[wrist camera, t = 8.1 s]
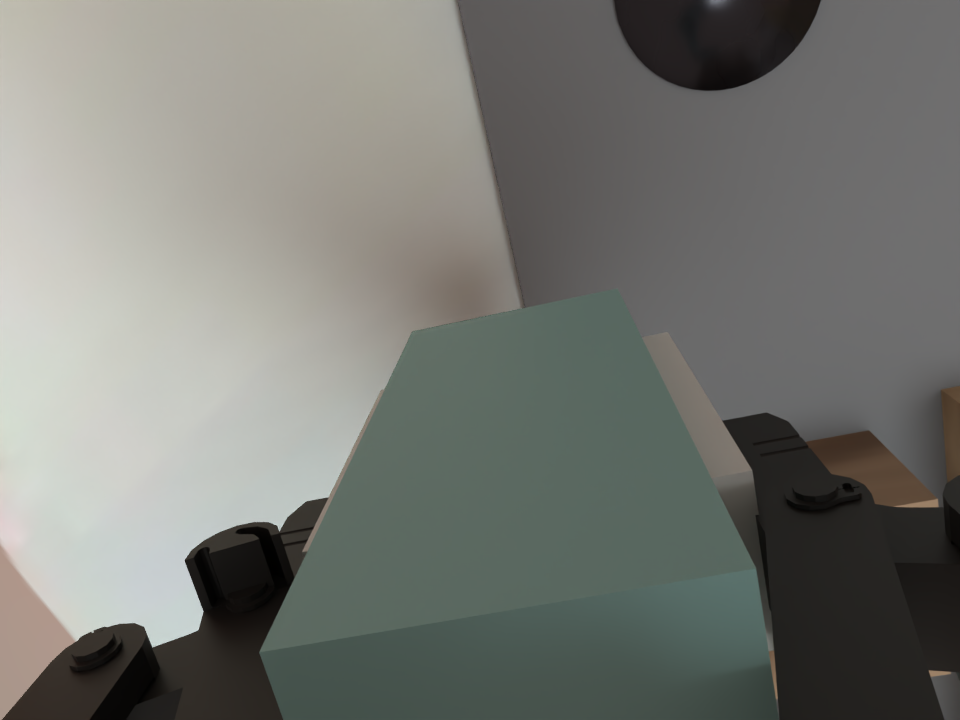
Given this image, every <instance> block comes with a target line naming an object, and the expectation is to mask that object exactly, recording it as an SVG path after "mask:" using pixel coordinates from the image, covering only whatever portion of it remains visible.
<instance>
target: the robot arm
mask: <svg viewBox="0 0 960 720" xmlns="http://www.w3.org/2000/svg"><path fill="white" fill-rule="evenodd" d="M642 339H643V341H644V343H645V345H646V347H647V349H648V351H649V353H650V355H651V357H652V359H653V361H654V363H655V365H656V367H657V369H658V371H659V373H660V375H661V377H662V379H663V381H664V383H665V385H666V387H667V389H668V391H669V393H670V395H671V397H672V399H673V401H674V403H675V405H676V407H677V410H678V412H679V414H680V416H681V418H682V420H683V422H684V424H685V426H686V428H687V430H688V432H689V434H690V436H691V438H692V440H693V442H694V444H695V446H696V448H697V450H698V452H699V454H700V456H701V458H702V460H703V462H704V464H705V466H706V468H707V470H708V472H709V474H710V476H711V478H712V480H713V482H714V484H715V486H716V488H717V490H718V492H719V494H720V496H721V498H722V500H723V502H724V504H725V507H726V509H727V511H728V513H729V515H730V517H731V519H732V521H733V523H734V525H735V527H736V529H737V531H738V533H739V535H740V537H741V539H742V541H743V543H744V545H745V547H746V549H747V551H748V553H749V555H750V557H751V559H752V561H753V563H754V565H755V567H756V571H757V577H758V584H759V590H760V597H761V604H762V610H763V617H764V624H765V630H766V637H767V643H768V650H769V651H773V650H774V656H775V669H776V682H777V696H778V709H779V720H944V717H943V714H942V710H941V707H940V704H939V701H938V698H937V695H936V692H935V689H934V686H933V682H932V679H931V676H930V673H929V670H930V671H945V672H956V674H957V676H958V678H959V680H960V475H958V476H957V477H955V478H954V479H952V480H951V481H949V482H948V483H946V485H945V488H944V491H943V506H944V507H892V506H885V505H879V504H875V502H874V499H873V496H872V493H871V492H870V491H869V490H868V488H867V487H866V486H865V485H864V484H862V483H860V482H858V481H856V480H854V479H852V478H849V477H844V476H839V475H834V474H831V473H830V471H829V470H828V469H827V468H826V467H825V465H824V464H823V463H822V462H821V460H820V459H819V458H818V457H817V456H816V454H815V453H814V452H813V451H812V449H811V448H809V447H808V445H807V443H806V442H805V441H804V440H803V438H802V437H800V436H799V434H798V432H797V431H796V430H795V429H794V427H793V426H792V425H791V424H790V423H789V421H786V420H784V419H782V418H779V417H777V416H774V415H772V414H769V413H767V412H766V413H761V414H755V415H750V416H745V417H740V418H734V419H729V420H724V421H722V420H721V418H720V417H719V415H718V414H717V412H716V410H715V409H714V407H713V405H712V404H711V402H710V400H709V399H708V397H707V396H706V394H705V392H704V391H703V389H702V387H701V386H700V384H699V382H698V381H697V379H696V378H695V376H694V374H693V373H692V371H691V369H690V368H689V366H688V365H687V363H686V361H685V360H684V358H683V356H682V355H681V353H680V351H679V350H678V348H677V347H676V345H675V343H674V342H673V340H672V338H671V337H670V335H669V333H668V332H666V333H661V334H656V335H651V336H646V337H642ZM384 390H385V389H384ZM384 390H381V391H380V393H379V396H378V398H377V400H376V402H375V404H374V406H373V408H372V410H371V412H370V414H369V416H368V418H367V420H366V422H365V424H364V426H363V428H362V430H361V432H360V434H359V436H358V439H357V441H356V443H355V445H354V447H353V449H352V451H351V453H350V455H349V457H348V459H347V461H346V463H345V465H344V467H343V469H342V471H341V473H340V475H339V477H338V479H337V481H336V484H335V486H334V488H333V490H332V492H331V494H330V496H329V497H328V498H323V499H317V500H312V501H307V502H305V503H304V504H303V505H302V506H300V507H299V508H298V509H297V510H296V511H295V512H293V513H292V514H291V515H290V516H289V517H288V518H287V519H286V521H285V523H284V525H283V526H282V528H281V530H280V532H279V530H278V527H277V526H276V525H273V524H271V523H269V522H253V523H248V524H243V525H238V526H235V527H233V528H230V529H227V530H224V531H222V532H219V533H217V534H215V535H214V536H212V537H210V538H208V539H206V540H204V541H203V542H202V543H200V544H199V545H198V546H197V547H195V548H194V549H193V550H192V551H191V552H190V553H189V555H188V556H187V558H186V559H185V563H186V565H187V568H188V571H189V573H190V576H191V579H192V581H193V584H194V587H195V590H196V592H197V595H198V598H199V600H200V603H201V606H202V608H203V611H204V612H203V616H202V620H201V624H200V627H199V630H198V631H196V632H194V633H191V634H189V635H186V636H184V637H181V638H178V639H175V640H172V641H170V642H167V643H164V644H161V645H158V646H156V647H153V648H152V646H151V643H150V641H149V638H148V636H147V633H146V631H145V628H144V627H143V626H140V625H138V624H135V623H130V624H118V625H114V626H110V627H102V628H99V629H97V630H94V633H92V632H90V633H88V634H86V635H84V636H82V637H80V638H79V640H78V641H76V642H75V643H73V644H72V645H70V646H69V647H67V648H66V649H65V650H63V651H62V652H61V653H60V654H59V655H58V656H57V657H56V658H55V659H54V660H53V661H52V662H51V663H50V664H49V665H48V667H47V668H46V669H45V670H44V671H43V672H42V673H41V675H40V676H39V677H38V678H37V679H36V681H35V682H34V683H33V684H32V685H31V686H30V688H29V689H28V690H27V691H26V692H25V693H24V695H23V696H22V697H21V698H20V699H19V701H18V702H17V703H16V704H15V705H14V706H13V707H12V709H11V710H10V711H9V712H8V713H7V714H6V716H5V717H4V718H3V719H2V720H283V718H282V715H281V712H280V709H279V706H278V704H277V701H276V698H275V695H274V692H273V690H272V687H271V684H270V681H269V678H268V676H267V673H266V670H265V667H264V664H263V662H262V659H261V656H260V653H259V652H260V650H261V648H262V645H263V643H264V641H265V639H266V637H267V635H268V633H269V631H270V629H271V627H272V625H273V622H274V620H275V618H276V616H277V614H278V612H279V610H280V608H281V606H282V604H283V601H284V599H285V597H286V595H287V593H288V591H289V589H290V587H291V585H292V583H293V581H294V578H295V576H296V574H297V572H298V570H299V568H300V566H301V564H302V562H303V560H304V557H305V555H306V553H307V551H308V549H309V547H310V545H311V543H312V541H313V539H314V537H315V534H316V532H317V530H318V528H319V526H320V524H321V522H322V520H323V518H324V516H325V514H326V511H327V509H328V507H329V505H330V503H331V501H332V499H333V497H334V495H335V493H336V490H337V488H338V486H339V484H340V482H341V480H342V478H343V476H344V474H345V472H346V470H347V467H348V465H349V463H350V461H351V459H352V457H353V455H354V453H355V451H356V449H357V446H358V444H359V442H360V440H361V438H362V436H363V434H364V432H365V430H366V428H367V426H368V423H369V421H370V419H371V417H372V415H373V413H374V411H375V409H376V407H377V405H378V403H379V400H380V398H381V396H382V394H383V392H384Z"/></svg>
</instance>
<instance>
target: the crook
mask: <svg viewBox="0 0 960 720" xmlns="http://www.w3.org/2000/svg"><path fill="white" fill-rule="evenodd" d="M259 653H260V656H261V659H262V662H263V664H264V667H265V670H266V673H267V676H268V678H269V681H270V684H271V687H272V690H273V692H274V695H275V698H276V701H277V704H278V706H279V709H280V712H281V715H282V718H283V720H779V716H778V710H777V703H776V696H775V690H774V683H773V677H772V670H771V663H770V657H769V650H768V643H767V637H766V630H765V624H764V617H763V610H762V604H761V597H760V590H759V584H758V577H757V571H756V567H755V565H754V563H753V561H752V559H751V557H750V555H749V553H748V551H747V549H746V547H745V545H744V543H743V541H742V539H741V537H740V535H739V533H738V531H737V529H736V527H735V525H734V523H733V521H732V519H731V517H730V515H729V513H728V511H727V509H726V507H725V504H724V502H723V500H722V498H721V496H720V494H719V492H718V490H717V488H716V486H715V484H714V482H713V480H712V478H711V476H710V474H709V472H708V470H707V468H706V466H705V464H704V462H703V460H702V458H701V456H700V454H699V452H698V450H697V448H696V446H695V444H694V442H693V440H692V438H691V436H690V434H689V432H688V430H687V428H686V426H685V424H684V422H683V420H682V418H681V416H680V414H679V412H678V410H677V407H676V405H675V403H674V401H673V399H672V397H671V395H670V393H669V391H668V389H667V387H666V385H665V383H664V381H663V379H662V377H661V375H660V373H659V371H658V369H657V367H656V365H655V363H654V361H653V359H652V357H651V355H650V353H649V351H648V349H647V347H646V345H645V343H644V341H643V339H642V337H641V335H640V333H639V331H638V329H637V327H636V325H635V323H634V321H633V319H632V317H631V315H630V312H629V310H628V308H627V306H626V304H625V302H624V300H623V298H622V296H621V294H620V292H619V290H618V288H617V289H612V290H608V291H603V292H598V293H593V294H589V295H584V296H579V297H574V298H570V299H565V300H560V301H555V302H551V303H546V304H541V305H536V306H532V307H527V308H522V309H517V310H513V311H508V312H503V313H498V314H494V315H489V316H484V317H479V318H475V319H470V320H465V321H460V322H456V323H451V324H446V325H441V326H437V327H432V328H427V329H422V330H418V331H413V332H412V333H411V335H410V338H409V340H408V342H407V344H406V346H405V348H404V350H403V352H402V354H401V356H400V359H399V361H398V363H397V365H396V367H395V369H394V371H393V373H392V375H391V377H390V379H389V382H388V384H387V386H386V388H385V390H384V392H383V394H382V396H381V398H380V400H379V403H378V405H377V407H376V409H375V411H374V413H373V415H372V417H371V419H370V421H369V423H368V426H367V428H366V430H365V432H364V434H363V436H362V438H361V440H360V442H359V444H358V446H357V449H356V451H355V453H354V455H353V457H352V459H351V461H350V463H349V465H348V467H347V470H346V472H345V474H344V476H343V478H342V480H341V482H340V484H339V486H338V488H337V490H336V493H335V495H334V497H333V499H332V501H331V503H330V505H329V507H328V509H327V511H326V514H325V516H324V518H323V520H322V522H321V524H320V526H319V528H318V530H317V532H316V534H315V537H314V539H313V541H312V543H311V545H310V547H309V549H308V551H307V553H306V555H305V557H304V560H303V562H302V564H301V566H300V568H299V570H298V572H297V574H296V576H295V578H294V581H293V583H292V585H291V587H290V589H289V591H288V593H287V595H286V597H285V599H284V601H283V604H282V606H281V608H280V610H279V612H278V614H277V616H276V618H275V620H274V622H273V625H272V627H271V629H270V631H269V633H268V635H267V637H266V639H265V641H264V643H263V645H262V648H261V650H260V652H259Z"/></svg>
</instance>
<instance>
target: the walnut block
mask: <svg viewBox="0 0 960 720" xmlns="http://www.w3.org/2000/svg"><path fill="white" fill-rule="evenodd" d="M806 443H807V445H808V447H809V448H811V449H812V451H813V452H814V453H815V454H816V456H817V457H818V458H819V459H820V460H821V462H822V463H823V464H824V465H825V467H826V468H827V469H828V470H829V471H830V473H831V474H834V475H839V476H844V477H849V478H852V479H854V480H856V481H858V482H860V483H862V484H864V485H865V486H866V487H867V488H868V490H869V491H870V492H871V493H872V496H873V499H874V502H875V504H879V505H885V506H892V507H938V499H937V498H936V497H935V496H934V495H933V494H932V493H931V492H930V491H929V490H928V489H927V488H926V487H925V486H924V485H923V484H922V483H921V482H920V481H919V480H918V479H917V478H916V477H915V476H914V475H913V474H912V473H911V472H910V471H909V470H908V469H907V468H906V467H905V466H904V465H903V464H902V463H901V462H900V461H899V460H898V459H897V458H896V457H895V456H894V455H893V454H892V453H891V452H890V451H889V450H888V449H887V448H886V447H885V446H884V445H883V444H882V443H881V442H880V441H879V440H878V439H877V438H876V437H875V436H874V435H873V434H872V433H871V432H870V431H869V430H868V431H862V432H857V433H851V434H845V435H840V436H834V437H829V438H823V439H818V440H812V441H807V442H806ZM769 657H770V663H771V670H772V677H773V683H774V690H775V696H776V699H778V696H777V682H776V669H775V656H774V650H773V651H769ZM929 673H930V676H931V677H933V676H940V675H947V674H951V672H945V671H930V670H929Z"/></svg>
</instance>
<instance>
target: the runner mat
mask: <svg viewBox="0 0 960 720" xmlns="http://www.w3.org/2000/svg"><path fill="white" fill-rule="evenodd" d="M458 4H459V8H460V13H461V18H462V22H463V27H464V31H465V36H466V40H467V45H468V49H469V54H470V59H471V63H472V68H473V72H474V77H475V81H476V86H477V91H478V95H479V100H480V104H481V109H482V113H483V118H484V122H485V127H486V132H487V136H488V141H489V145H490V150H491V154H492V159H493V164H494V168H495V173H496V177H497V182H498V186H499V191H500V195H501V200H502V205H503V209H504V214H505V218H506V223H507V227H508V232H509V236H510V241H511V246H512V250H513V255H514V259H515V264H516V268H517V273H518V278H519V282H520V287H521V291H522V296H523V300H524V305H525V308H527V307H532V306H536V305H541V304H546V303H551V302H555V301H560V300H565V299H570V298H574V297H579V296H584V295H589V294H593V293H598V292H603V291H608V290H612V289H617V288H618V290H619V292H620V294H621V296H622V298H623V300H624V302H625V304H626V306H627V308H628V310H629V312H630V315H631V317H632V319H633V321H634V323H635V325H636V327H637V329H638V331H639V333H640V335H641V337H646V336H651V335H656V334H661V333H666V332H668V333H669V335H670V337H671V338H672V340H673V342H674V343H675V345H676V347H677V348H678V350H679V351H680V353H681V355H682V356H683V358H684V360H685V361H686V363H687V365H688V366H689V368H690V369H691V371H692V373H693V374H694V376H695V378H696V379H697V381H698V382H699V384H700V386H701V387H702V389H703V391H704V392H705V394H706V396H707V397H708V399H709V400H710V402H711V404H712V405H713V407H714V409H715V410H716V412H717V414H718V415H719V417H720V418H721V420H722V421H724V420H729V419H734V418H740V417H745V416H750V415H755V414H761V413H766V412H767V413H769V414H772V415H774V416H777V417H779V418H782V419H784V420H786V421H789V423H790V424H791V425H792V426H793V427H794V429H795V430H796V431H797V432H798V434H799V436H800V437H802V438H803V440H804V441H805V442H807V441H812V440H818V439H823V438H829V437H834V436H840V435H845V434H851V433H857V432H862V431H868V430H869V431H870V432H871V433H872V434H873V435H874V436H875V437H876V438H877V439H878V440H879V441H880V442H881V443H882V444H883V445H884V446H885V447H886V448H887V449H888V450H889V451H890V452H891V453H892V454H893V455H894V456H895V457H896V458H897V459H898V460H899V461H900V462H901V463H902V464H903V465H904V466H905V467H906V468H907V469H908V470H909V471H910V472H911V473H912V474H913V475H914V476H915V477H916V478H917V479H918V480H919V481H920V482H921V483H922V484H923V485H924V486H925V487H926V488H927V489H928V490H929V491H930V492H931V493H932V494H933V495H934V496H935V497H936V498H937V499H938V507H944V506H943V491H944V488H945V485H946V483H947V470H946V456H945V441H944V427H943V413H942V398H941V389H946V388H952V387H957V386H960V0H821V2H820V5H819V8H818V11H817V14H816V16H815V18H814V20H813V22H812V24H811V27H810V28H809V30H808V32H807V33H806V35H805V37H804V38H803V40H802V41H801V42H800V44H799V45H798V46H797V47H796V49H795V50H794V51H793V52H792V53H791V54H790V55H789V56H788V57H787V58H786V59H785V60H784V61H783V62H782V63H781V64H780V65H778V66H777V67H776V68H775V69H773V70H772V71H771V72H769V73H767V74H766V75H764V76H762V77H761V78H759V79H757V80H755V81H752V82H750V83H748V84H745V85H742V86H739V87H736V88H732V89H725V90H718V91H702V90H692V89H688V88H684V87H680V86H678V85H675V84H673V83H670V82H668V81H666V80H664V79H663V78H661V77H659V76H657V75H656V74H655V73H653V72H652V71H651V70H650V69H648V68H647V67H646V66H645V65H644V64H643V63H642V62H641V61H640V60H639V59H638V58H637V56H636V55H635V53H634V52H633V51H632V49H631V48H630V46H629V45H628V43H627V41H626V39H625V37H624V35H623V33H622V30H621V27H620V25H619V22H618V18H617V13H616V9H615V1H614V0H458ZM931 679H932V682H933V686H934V689H935V692H936V695H937V698H938V701H939V704H940V707H941V710H942V714H943V717H944V720H960V680H959V678H958V676H957V674H956V672H951V674H947V675H940V676H933V677H931ZM776 703H777V710H778V716H779V709H778V699H776Z"/></svg>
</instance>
